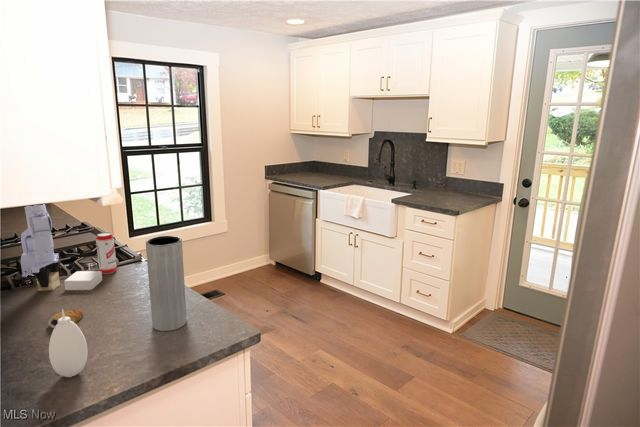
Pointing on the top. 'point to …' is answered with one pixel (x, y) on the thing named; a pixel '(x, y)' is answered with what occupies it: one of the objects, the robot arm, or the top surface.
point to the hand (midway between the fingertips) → (48, 283)
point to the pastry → (73, 314)
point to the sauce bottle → (67, 348)
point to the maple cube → (51, 282)
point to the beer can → (106, 253)
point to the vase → (166, 282)
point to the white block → (83, 280)
